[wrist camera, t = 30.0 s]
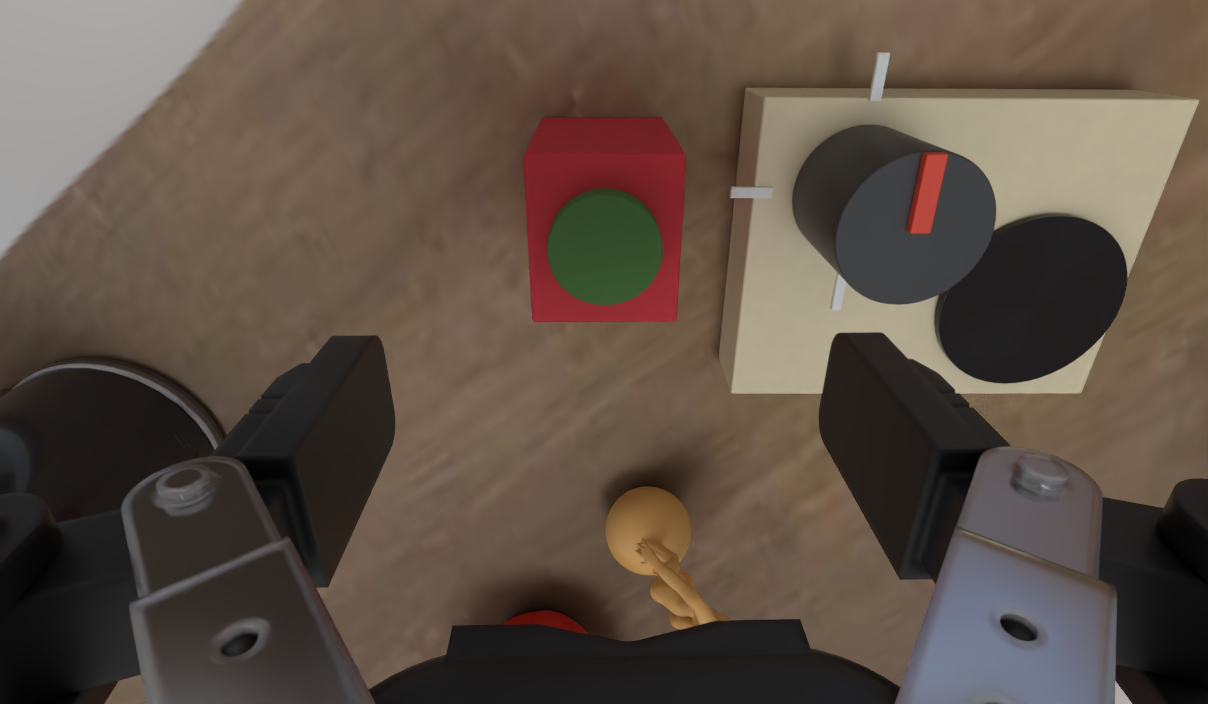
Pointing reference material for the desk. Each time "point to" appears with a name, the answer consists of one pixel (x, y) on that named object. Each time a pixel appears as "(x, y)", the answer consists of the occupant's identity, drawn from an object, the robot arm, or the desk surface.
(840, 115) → the hob
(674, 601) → the figurine
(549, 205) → the red block green button
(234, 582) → the robot arm
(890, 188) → the hob knob
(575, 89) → the desk surface
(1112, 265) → the burner
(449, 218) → the desk surface
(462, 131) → the desk surface
